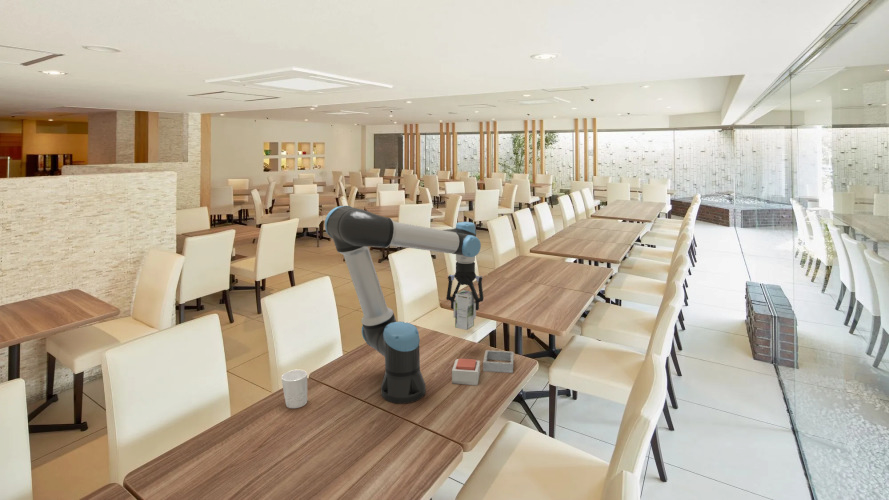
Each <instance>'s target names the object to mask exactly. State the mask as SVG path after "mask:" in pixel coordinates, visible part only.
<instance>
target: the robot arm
mask: <svg viewBox="0 0 889 500" xmlns="http://www.w3.org/2000/svg"><path fill="white" fill-rule="evenodd" d="M324 228H325V229H324V230H325V232H326V234H327V235H328V236H329V237H330V238H331V239H332V240H333V243H334V246H335V249H336V252H337V253H339V254H340V255H343V258H344V261H345V264H346V267H347V270H348V272H349V273H348V274H349V275H350V279H351V282H352V284H353V288H354V291H355V293H356V296H357V298H358V302H359V305H360V308H361V310H362V314H363V316H362V318H361V321H360V322H361V324H362V326H361V336H362V338H363V340H364V341H365V343H366V344H367V345H368V346H369V347H371V348H372V349H374V350H375V351H377V352H378V353H379V354H380V355H382V356H383V357H384V365H385V366H384V367H385V368H384V369H385V372H384V377H383V379H382V382H381V386H380V394H381V397H382V398H383V399H384V400H385V401H387V402H390V403H393V404H409V403H413V402H416V401H418V400H420V399H422V398H423V397H424V396H425V394H426V390H427V389H426V382H425V380H424V376H423V375H422V372H421V363H420V362H421V361H420V358H421V357H420V342H421V339H420V333H419V332H420V331H419V330H418V328H417V326H415V325H414V324H413V323H410V322H405V321H397V319H396V316H395V314H394V310H393V309H392V308H390V307H388V304H387V303H386V299H385V295H384V292H383V290H382V286H381V283H380V280H379V277H378V274H377V272H376V267H375V265H374V262H373V258H372V254H371V252H370V249H369V248H370V247H371V248H383V249H387V248H389V247H390V246H392V247H401V248H407V249H415V250H421V251H431V252H437V253H446V254H451V255H455V260H456V261H455V272H454V274H448V276H447V280H448V284H447V291H446V301H450V309H451V310H453V319H454V318H455V302H456V293H458V292H459V289H460V288H461V286H464V285H465V286H469V288H470V290H471V292H472V294H473V297H474V316H473V319H474V320H475V319H476V318H477V311H479V309H480V303H482V302H484V289H483V283H482V281H483V275H476V262H475V261H476V256H477V255H478V254H479V253H480V251H481V247H482V245H481V244H482V242H481V240H480V238H479V237H477V236H476V235H477V233H476V224H475V223H474V222H471V221H459V222H456V224H455V228H449V229H448V228H447V229H436V228H432V227H425V226H420V225H414V224H409V223H402V222H397V221H394V220H393V219H392V218H391V217H388V216H387V217H386V216H382V215H379V214H376V213H373V212H370V211H367V210H364V209H363V208H358V207H357V208H356V207H353V206H350V205H340V206H336V207H334V208H332V209H331V210H330V211H329V212H328V213H327V215H326V217H325V219H324ZM455 279H456V281H457V284H456V286H455V289H454V291H453V293H452V288H453V281H454V280H455ZM474 280H476V282H477V286H478V293H477V290H476V288H475V285H474ZM451 294H452V296H451ZM478 294H479V295H478Z"/></svg>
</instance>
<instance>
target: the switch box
mask: <svg viewBox="0 0 889 500" xmlns="http://www.w3.org/2000/svg"><path fill="white" fill-rule="evenodd" d="M458 359H459V358H458ZM458 359H456V358H455V361H454V364H453V365H452V366H453V367H452V370H451V383H452V385H453V384H455V385H468V386H470V385H471V386H478V385H479V381H480V375H481V360H476V368H475V371H474V370H459V369H456V365H457V362H458Z"/></svg>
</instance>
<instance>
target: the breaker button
mask: <svg viewBox="0 0 889 500" xmlns="http://www.w3.org/2000/svg"><path fill="white" fill-rule="evenodd" d="M476 361H477V359H474V358H472V359H471V358H458V362H457V365H456V369H459V370H474V371H475V368H476Z"/></svg>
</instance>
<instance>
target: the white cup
mask: <svg viewBox="0 0 889 500" xmlns="http://www.w3.org/2000/svg"><path fill="white" fill-rule="evenodd" d="M280 379H281V384H282V390H283V395H284V396H283V397H284V401H285V406H286V407H287V408H288V409H298V408H301V407H304V406H305V405H306V404H307V403H308V372H307V371H306V370H304V369H293V370H288V371H287V372H284V373H282V375H281V378H280Z"/></svg>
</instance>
